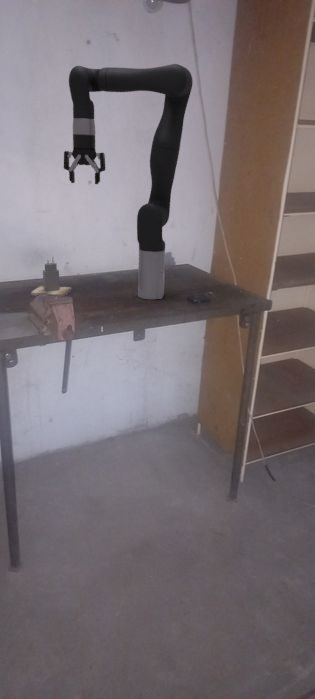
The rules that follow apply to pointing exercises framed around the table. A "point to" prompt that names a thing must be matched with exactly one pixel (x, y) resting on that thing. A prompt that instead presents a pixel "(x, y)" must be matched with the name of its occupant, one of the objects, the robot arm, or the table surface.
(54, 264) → the power adapter
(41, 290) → the birch board
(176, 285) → the table surface
